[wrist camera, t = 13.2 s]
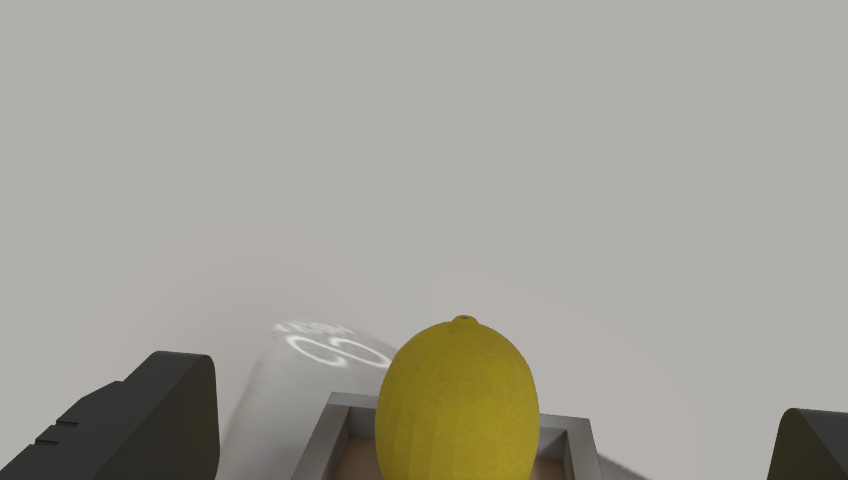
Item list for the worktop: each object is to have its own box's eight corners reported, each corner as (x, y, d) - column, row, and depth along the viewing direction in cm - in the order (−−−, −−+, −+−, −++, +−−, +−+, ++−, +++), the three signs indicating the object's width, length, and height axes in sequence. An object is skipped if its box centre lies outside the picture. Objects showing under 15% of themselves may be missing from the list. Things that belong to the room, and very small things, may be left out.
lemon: (518, 480, 27) (540, 291, 25) (535, 590, 22) (565, 363, 20) (378, 471, 27) (386, 281, 25) (361, 577, 22) (370, 350, 20)
